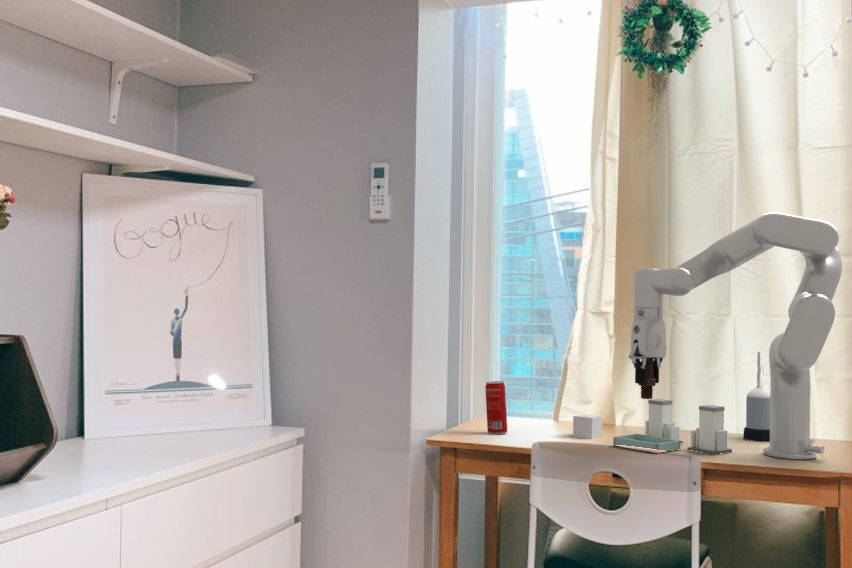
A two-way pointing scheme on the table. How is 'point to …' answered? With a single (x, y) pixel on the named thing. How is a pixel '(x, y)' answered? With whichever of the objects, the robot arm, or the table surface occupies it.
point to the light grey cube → (587, 426)
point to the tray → (647, 442)
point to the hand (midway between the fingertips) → (647, 382)
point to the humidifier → (758, 412)
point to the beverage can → (496, 407)
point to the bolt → (648, 380)
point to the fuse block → (702, 439)
